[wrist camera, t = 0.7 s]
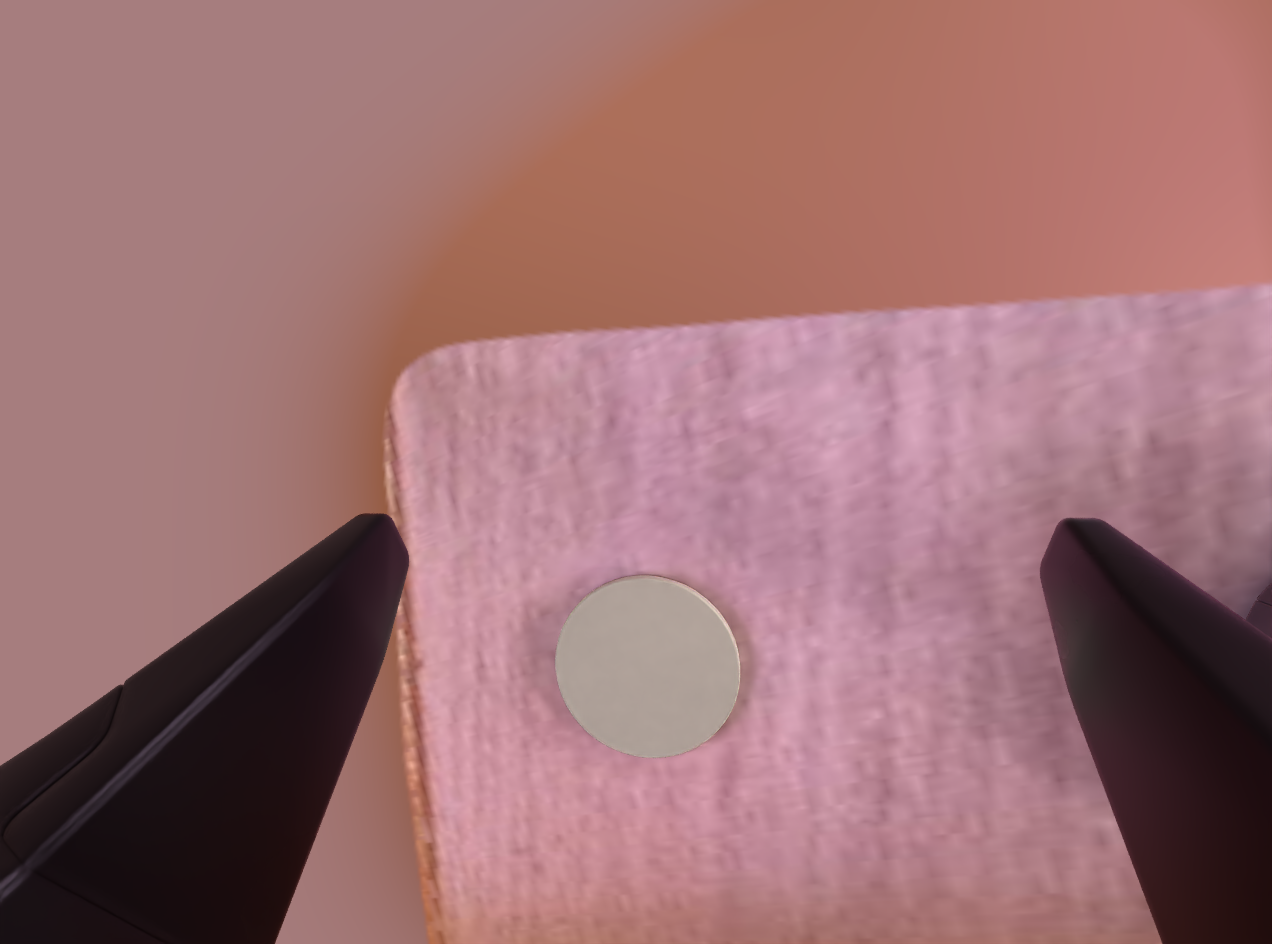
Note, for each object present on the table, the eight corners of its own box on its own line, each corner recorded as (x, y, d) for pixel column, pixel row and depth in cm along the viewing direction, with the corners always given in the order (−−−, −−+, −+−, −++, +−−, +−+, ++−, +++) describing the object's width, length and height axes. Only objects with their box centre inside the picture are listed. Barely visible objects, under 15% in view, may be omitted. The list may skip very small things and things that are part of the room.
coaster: (777, 693, 24) (778, 700, 24) (626, 783, 26) (624, 790, 25) (669, 539, 24) (667, 542, 24) (523, 636, 26) (519, 641, 25)
